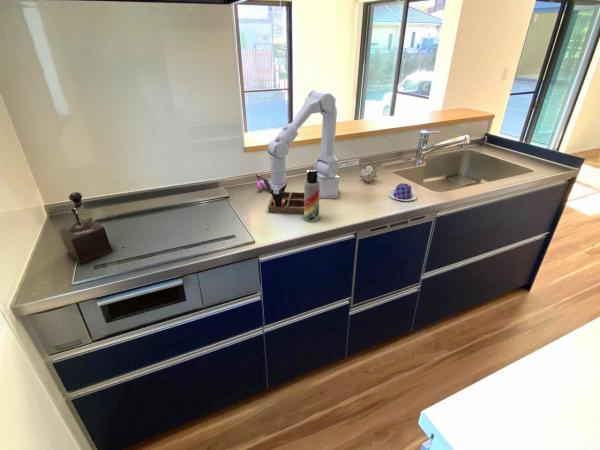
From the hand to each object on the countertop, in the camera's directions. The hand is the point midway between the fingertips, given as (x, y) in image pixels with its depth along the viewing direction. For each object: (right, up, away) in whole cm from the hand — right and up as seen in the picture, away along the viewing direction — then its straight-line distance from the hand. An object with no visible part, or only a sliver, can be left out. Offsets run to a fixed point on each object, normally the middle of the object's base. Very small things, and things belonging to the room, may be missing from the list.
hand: (279, 203), depth 141 cm
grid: (+4, -1, +4) cm, 6 cm away
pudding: (+54, +3, +12) cm, 55 cm away
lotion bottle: (+13, -7, -6) cm, 16 cm away
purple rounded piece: (-9, +7, +17) cm, 21 cm away
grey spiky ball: (+41, +12, +26) cm, 51 cm away
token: (0, -1, +1) cm, 1 cm away
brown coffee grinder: (-63, -17, -24) cm, 70 cm away
